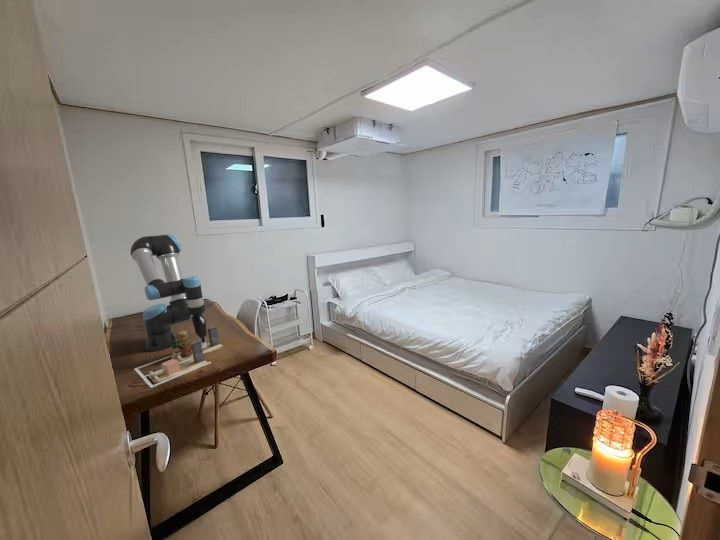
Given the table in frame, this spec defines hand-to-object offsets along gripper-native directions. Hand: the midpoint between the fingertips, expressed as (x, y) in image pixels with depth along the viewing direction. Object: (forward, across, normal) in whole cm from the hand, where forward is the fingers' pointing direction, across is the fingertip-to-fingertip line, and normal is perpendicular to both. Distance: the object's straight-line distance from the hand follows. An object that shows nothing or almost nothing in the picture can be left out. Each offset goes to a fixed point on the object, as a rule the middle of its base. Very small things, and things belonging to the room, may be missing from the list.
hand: (203, 347), depth 156 cm
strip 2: (+2, 0, -3) cm, 4 cm away
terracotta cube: (+1, +13, -19) cm, 23 cm away
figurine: (+2, 0, -10) cm, 10 cm away
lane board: (+2, +6, -16) cm, 18 cm away
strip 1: (+2, +13, -16) cm, 21 cm away
